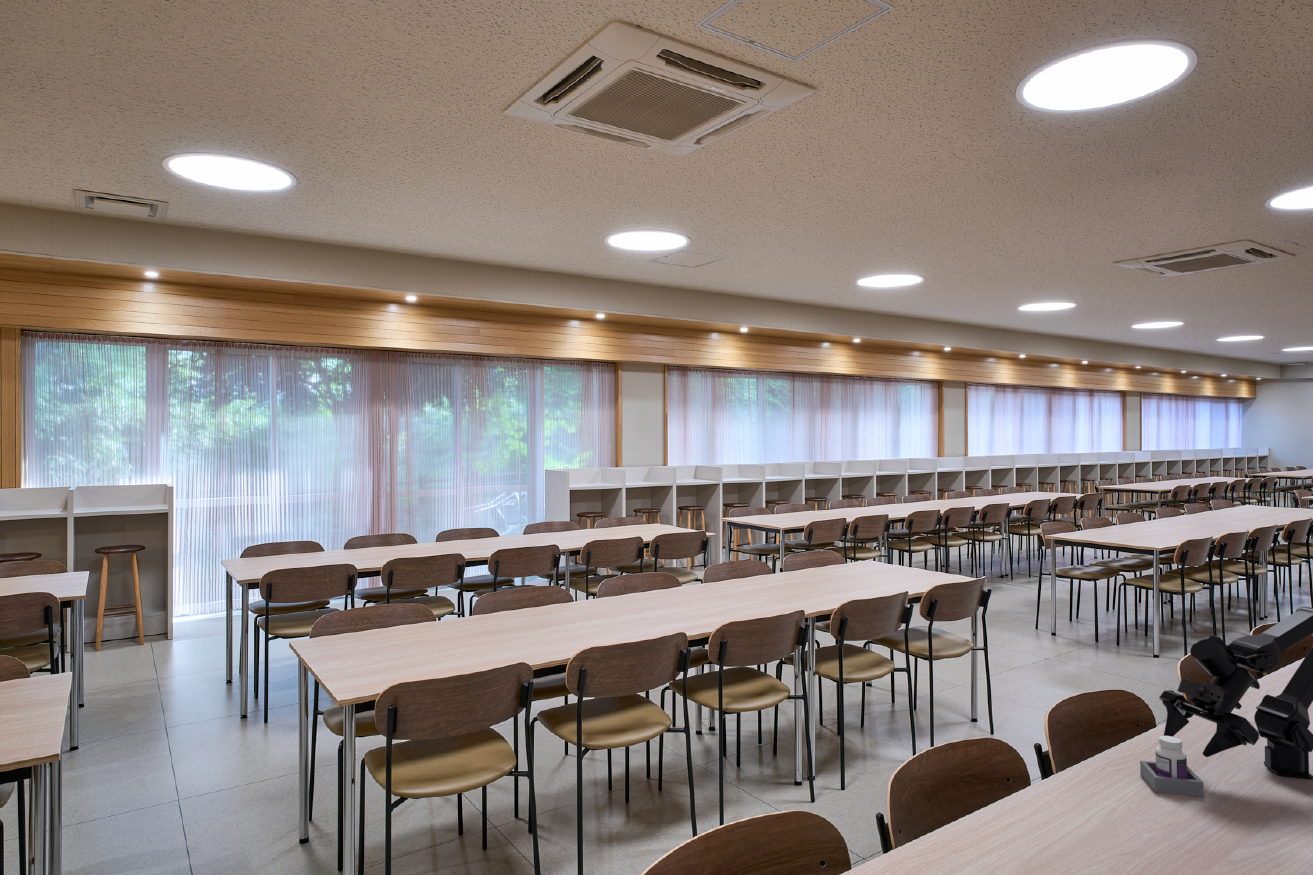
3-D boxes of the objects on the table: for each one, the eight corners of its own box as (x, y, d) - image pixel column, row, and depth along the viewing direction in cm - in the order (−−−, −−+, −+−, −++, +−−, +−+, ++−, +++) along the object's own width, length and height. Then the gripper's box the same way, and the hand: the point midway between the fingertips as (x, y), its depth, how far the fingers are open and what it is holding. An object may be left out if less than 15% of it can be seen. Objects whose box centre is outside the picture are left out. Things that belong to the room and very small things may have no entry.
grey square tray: (1186, 778, 158) (1185, 764, 158) (1203, 797, 150) (1203, 782, 150) (1140, 774, 160) (1140, 760, 160) (1155, 792, 152) (1154, 777, 152)
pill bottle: (1183, 781, 156) (1182, 735, 157) (1190, 793, 151) (1190, 745, 152) (1153, 778, 158) (1152, 732, 159) (1159, 788, 153) (1159, 741, 154)
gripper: (1164, 653, 166) (1124, 707, 164) (1245, 678, 148) (1201, 739, 146) (1194, 685, 168) (1155, 739, 165) (1278, 714, 149) (1235, 774, 147)
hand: (1184, 746), depth 156 cm, fingers open, 9 cm apart
